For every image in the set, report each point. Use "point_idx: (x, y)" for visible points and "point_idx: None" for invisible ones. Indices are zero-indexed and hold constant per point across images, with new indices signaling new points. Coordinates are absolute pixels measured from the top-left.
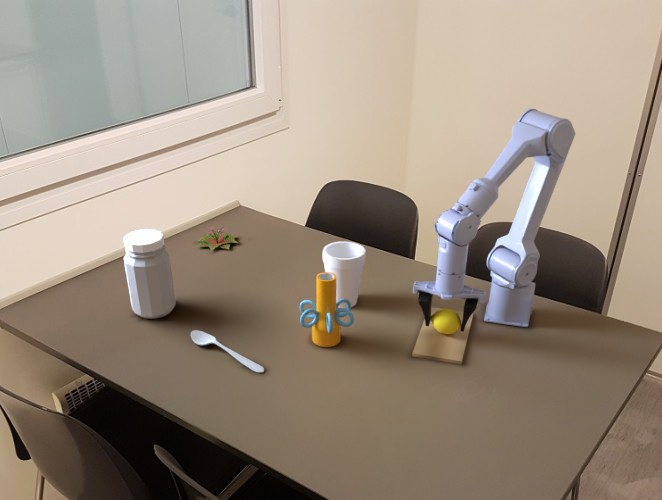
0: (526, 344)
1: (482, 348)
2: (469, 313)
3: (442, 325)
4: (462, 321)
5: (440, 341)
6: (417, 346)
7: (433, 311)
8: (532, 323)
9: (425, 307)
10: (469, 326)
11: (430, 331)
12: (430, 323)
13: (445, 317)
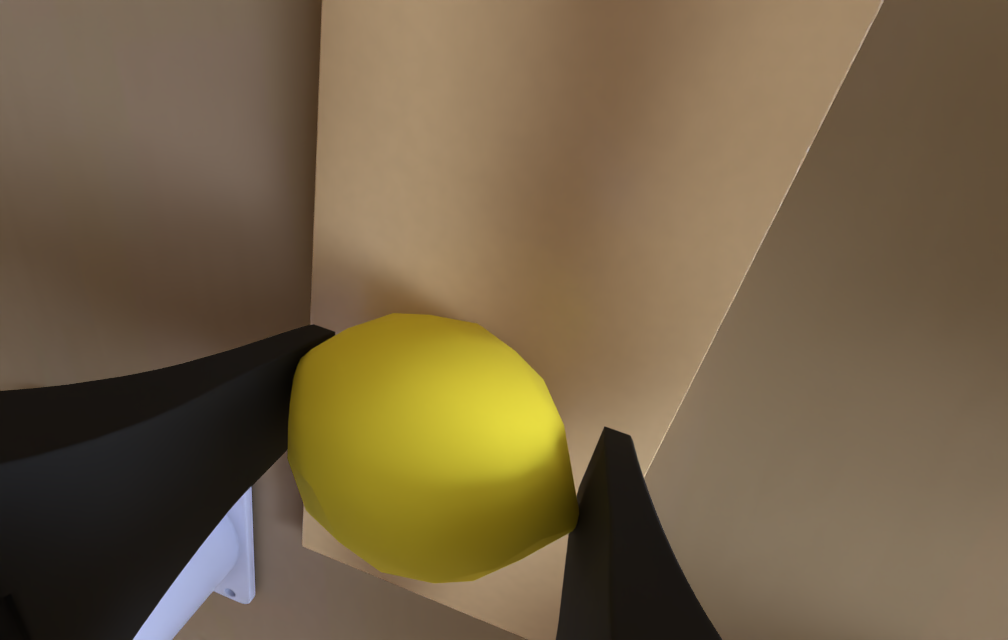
0: (2, 233)
1: (220, 183)
2: (60, 397)
3: (467, 361)
4: (248, 368)
5: (519, 247)
6: (774, 154)
7: (533, 605)
8: None
9: (663, 632)
10: None
11: (587, 397)
12: None
13: (410, 439)
